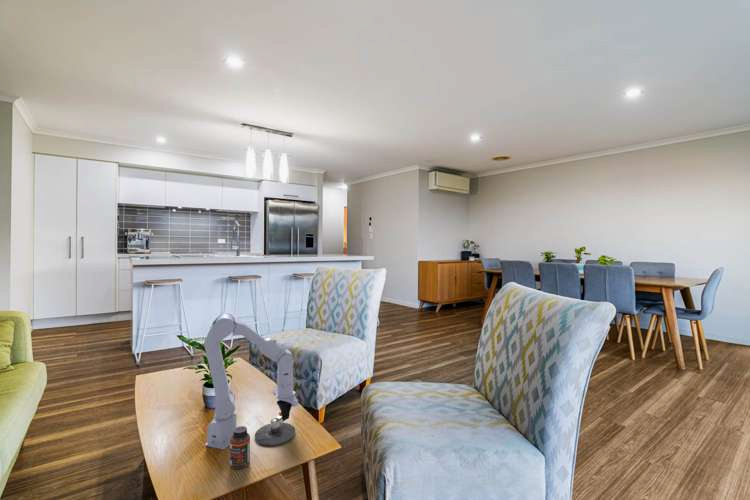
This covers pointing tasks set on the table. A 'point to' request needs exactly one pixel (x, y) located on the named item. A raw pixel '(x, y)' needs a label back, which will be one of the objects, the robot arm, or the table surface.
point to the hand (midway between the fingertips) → (285, 418)
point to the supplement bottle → (239, 448)
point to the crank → (276, 424)
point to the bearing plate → (274, 435)
